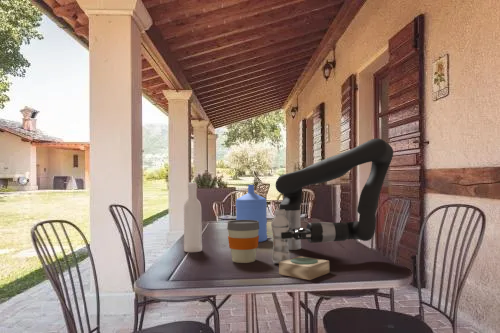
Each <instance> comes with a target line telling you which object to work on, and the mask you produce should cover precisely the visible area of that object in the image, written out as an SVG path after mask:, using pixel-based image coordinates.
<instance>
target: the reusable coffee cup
mask: <svg viewBox="0 0 500 333" xmlns="http://www.w3.org/2000/svg"><path fill="white" fill-rule="evenodd" d="M259 229H260V228H259V221H256V220H236V219H235V220H234V219H233V220H229V221H227V227H226V230H227V231H228V236H227V239H228V245H229V246H228V247H229V249H230V253H231V259H232V260H231V261H232V263H237V264H239V263H240V264H248V263H253V262H255V261H256V257H257V256H256V254H257V248H259V242H258V240H259V236H258V231H259Z"/></svg>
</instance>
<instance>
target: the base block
mask: <svg viewBox="0 0 500 333" xmlns="http://www.w3.org/2000/svg"><path fill="white" fill-rule="evenodd" d="M278 274H279V275H282V276H287V277H293V278H297V279H302V280H308V281H311V280H314V279H317V278H319V277H322V276H324V275H327V274H330V260H328V259H327V260H326V259H322V258H321V259H320V258H314V257H308V256H300V255H298V256H296V257H293V258H290V259H288V260H284V261H281V262H279V264H278Z"/></svg>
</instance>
